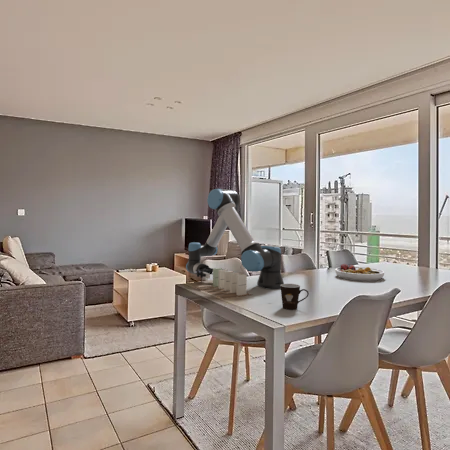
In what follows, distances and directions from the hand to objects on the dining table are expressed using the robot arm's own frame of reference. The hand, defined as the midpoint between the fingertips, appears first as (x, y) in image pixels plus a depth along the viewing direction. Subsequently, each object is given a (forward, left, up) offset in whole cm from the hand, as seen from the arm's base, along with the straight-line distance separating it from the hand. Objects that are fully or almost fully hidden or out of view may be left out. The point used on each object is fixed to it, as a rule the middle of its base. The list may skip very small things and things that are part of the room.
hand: (219, 275), depth 204 cm
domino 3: (+7, +7, -7) cm, 12 cm away
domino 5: (+15, +15, -7) cm, 23 cm away
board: (+10, +4, -7) cm, 13 cm away
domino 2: (+3, +3, -7) cm, 8 cm away
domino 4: (+11, +11, -7) cm, 17 cm away
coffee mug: (+33, +42, -8) cm, 54 cm away
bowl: (-57, +80, -8) cm, 98 cm away
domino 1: (-2, -2, -7) cm, 7 cm away
